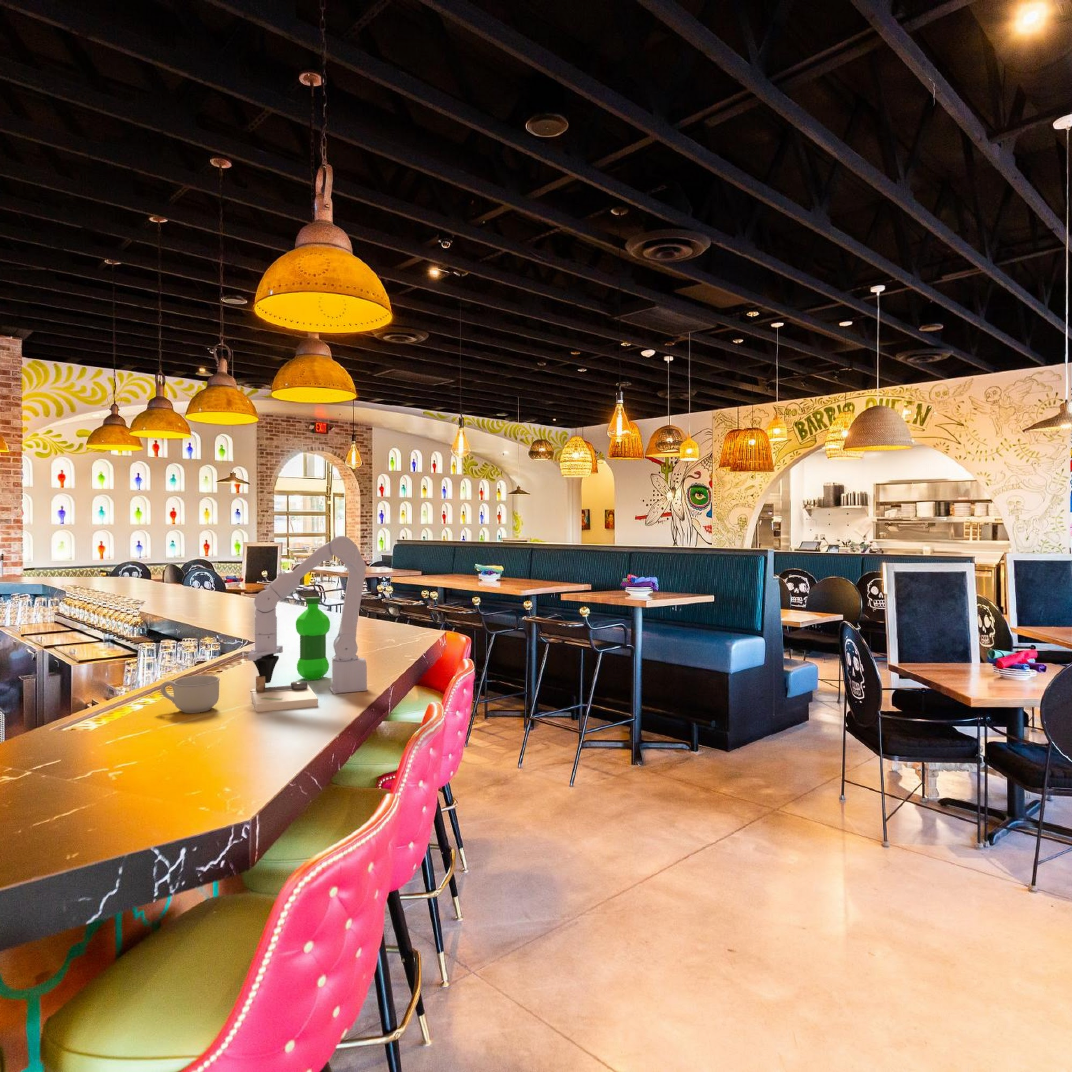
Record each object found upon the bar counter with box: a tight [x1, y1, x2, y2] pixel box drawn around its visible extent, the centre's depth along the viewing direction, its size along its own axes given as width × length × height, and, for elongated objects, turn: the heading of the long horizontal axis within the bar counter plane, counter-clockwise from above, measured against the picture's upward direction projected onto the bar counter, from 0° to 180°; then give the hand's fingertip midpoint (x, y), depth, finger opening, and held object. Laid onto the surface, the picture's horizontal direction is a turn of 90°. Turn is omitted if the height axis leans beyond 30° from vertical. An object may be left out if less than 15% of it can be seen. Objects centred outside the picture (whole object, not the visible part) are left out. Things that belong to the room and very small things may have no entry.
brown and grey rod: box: [249, 675, 309, 693], centre depth 199 cm, size 15×4×4 cm, turn 115°
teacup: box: [160, 674, 221, 714], centre depth 185 cm, size 14×11×8 cm
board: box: [250, 684, 319, 713], centre depth 195 cm, size 15×19×2 cm
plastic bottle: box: [295, 596, 331, 681], centre depth 227 cm, size 10×10×25 cm
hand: (265, 682), depth 203 cm, fingers closed
